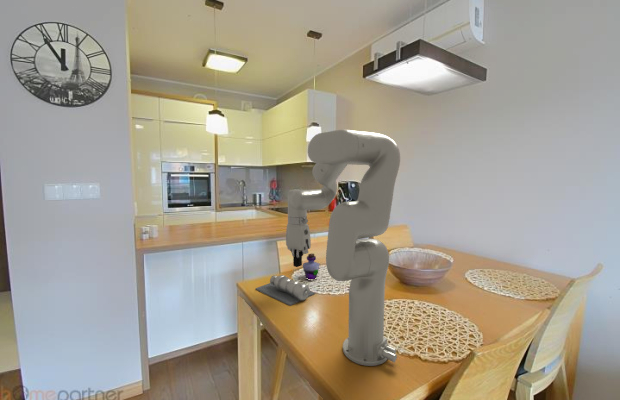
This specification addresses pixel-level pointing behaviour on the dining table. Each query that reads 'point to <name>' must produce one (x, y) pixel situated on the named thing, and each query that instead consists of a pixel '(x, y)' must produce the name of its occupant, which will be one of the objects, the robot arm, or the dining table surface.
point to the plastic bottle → (290, 287)
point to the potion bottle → (311, 267)
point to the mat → (279, 294)
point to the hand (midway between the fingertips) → (297, 265)
